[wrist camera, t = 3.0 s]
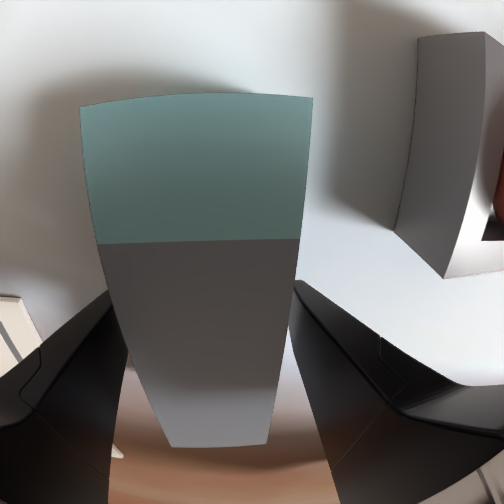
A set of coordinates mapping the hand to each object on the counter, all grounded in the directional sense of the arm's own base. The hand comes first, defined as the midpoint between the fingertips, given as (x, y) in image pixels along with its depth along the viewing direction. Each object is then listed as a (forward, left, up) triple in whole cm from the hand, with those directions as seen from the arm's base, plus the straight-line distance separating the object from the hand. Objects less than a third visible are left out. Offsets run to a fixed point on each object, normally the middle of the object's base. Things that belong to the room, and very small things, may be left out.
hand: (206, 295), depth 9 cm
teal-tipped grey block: (0, 0, -1) cm, 1 cm away
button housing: (+5, -10, -1) cm, 11 cm away
